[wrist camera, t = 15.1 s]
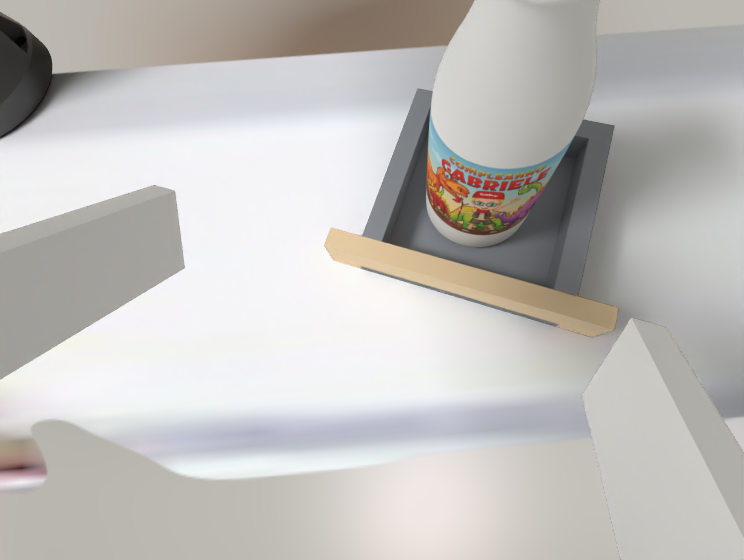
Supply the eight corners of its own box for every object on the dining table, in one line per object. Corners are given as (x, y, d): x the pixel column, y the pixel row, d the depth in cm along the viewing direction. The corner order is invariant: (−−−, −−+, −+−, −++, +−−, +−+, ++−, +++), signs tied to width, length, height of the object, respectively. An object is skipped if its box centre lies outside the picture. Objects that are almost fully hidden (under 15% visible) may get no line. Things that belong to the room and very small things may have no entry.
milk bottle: (420, 169, 31) (423, -180, 12) (515, 156, 31) (675, -236, 12) (432, 256, 29) (458, -8, 10) (535, 243, 28) (776, -65, 9)
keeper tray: (333, 260, 31) (323, 245, 28) (391, 111, 34) (388, 83, 31) (591, 337, 27) (615, 329, 23) (627, 159, 30) (651, 132, 27)
